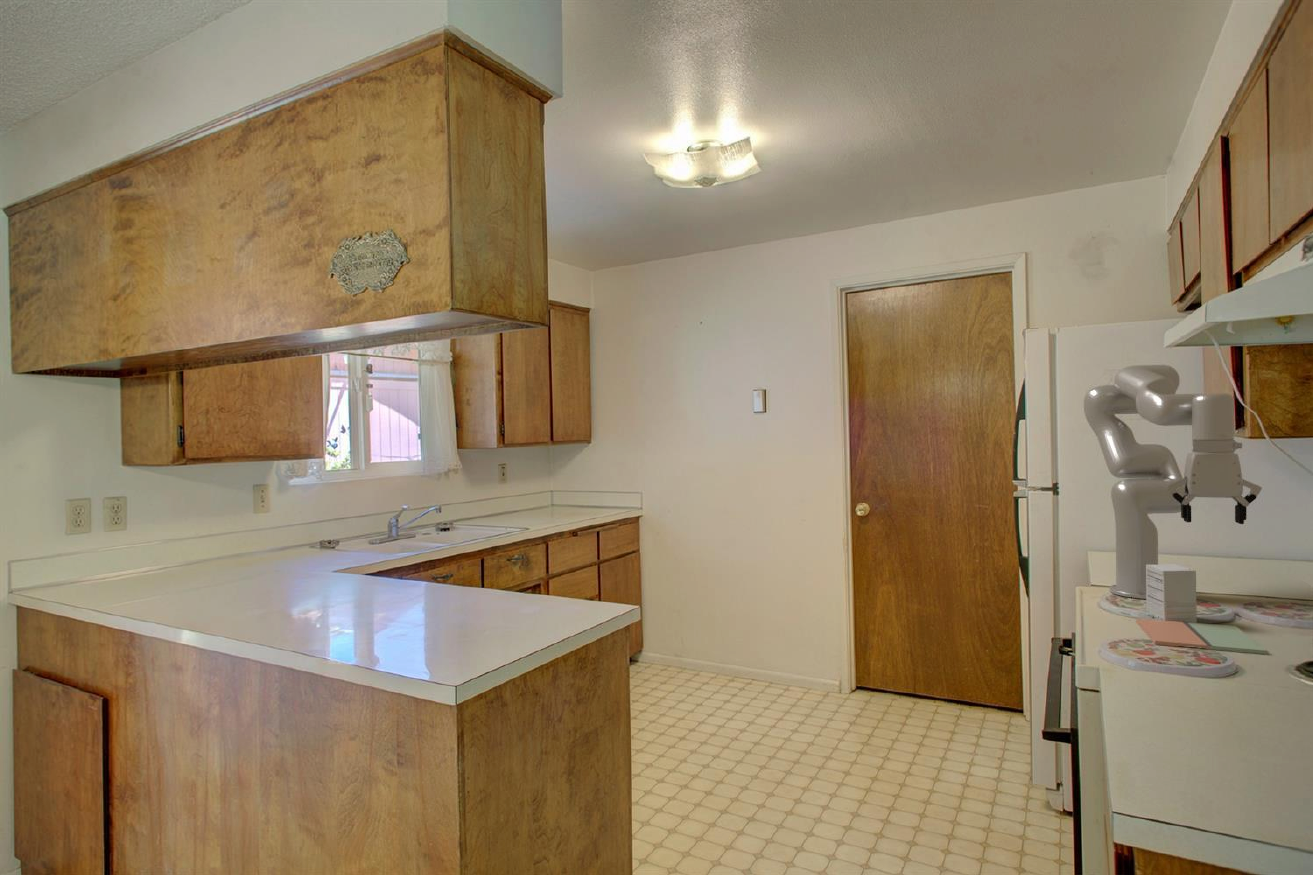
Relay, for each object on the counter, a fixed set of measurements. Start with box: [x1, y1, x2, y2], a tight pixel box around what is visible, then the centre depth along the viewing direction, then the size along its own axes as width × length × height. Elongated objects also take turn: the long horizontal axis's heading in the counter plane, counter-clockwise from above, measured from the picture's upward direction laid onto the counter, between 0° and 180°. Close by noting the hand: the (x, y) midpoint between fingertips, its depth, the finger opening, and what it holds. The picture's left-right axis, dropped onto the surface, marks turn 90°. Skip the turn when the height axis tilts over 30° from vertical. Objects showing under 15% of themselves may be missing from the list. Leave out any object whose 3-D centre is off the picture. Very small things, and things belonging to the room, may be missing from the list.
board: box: [1135, 617, 1268, 655], centre depth 154 cm, size 18×19×1 cm
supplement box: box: [1145, 563, 1198, 623], centre depth 167 cm, size 7×7×13 cm
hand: (1213, 522), depth 160 cm, fingers open, 9 cm apart
